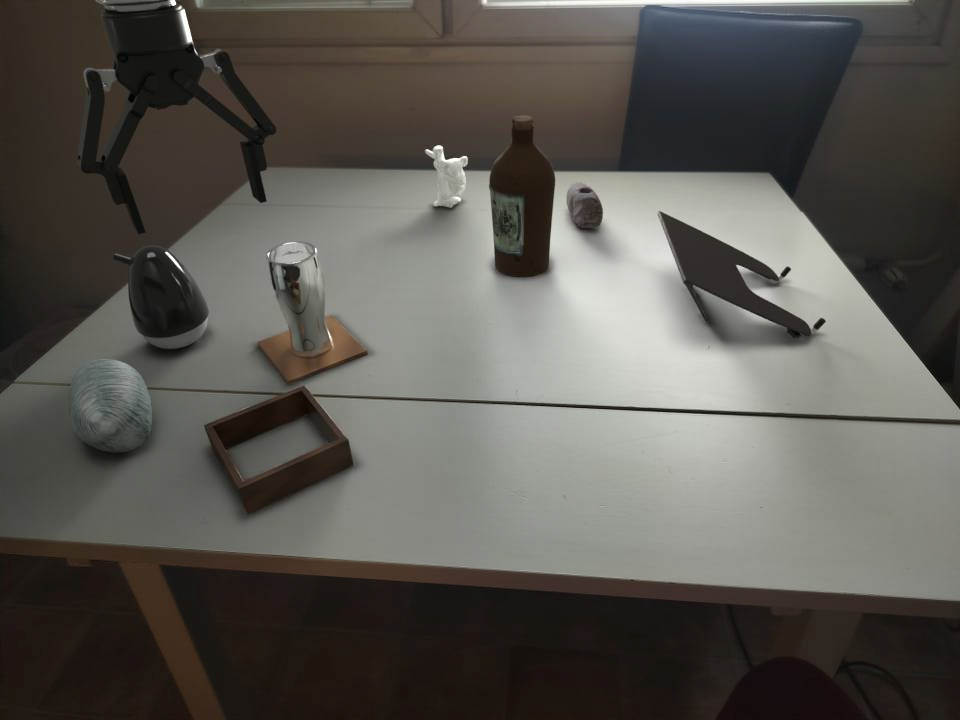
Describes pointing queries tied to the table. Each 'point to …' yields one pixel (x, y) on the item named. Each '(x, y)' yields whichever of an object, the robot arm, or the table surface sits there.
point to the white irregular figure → (448, 177)
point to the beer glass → (300, 296)
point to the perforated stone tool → (584, 205)
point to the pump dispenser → (164, 298)
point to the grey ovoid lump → (110, 406)
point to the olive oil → (522, 204)
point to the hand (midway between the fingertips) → (202, 213)
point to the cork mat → (303, 367)
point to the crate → (290, 473)
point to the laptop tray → (726, 274)
